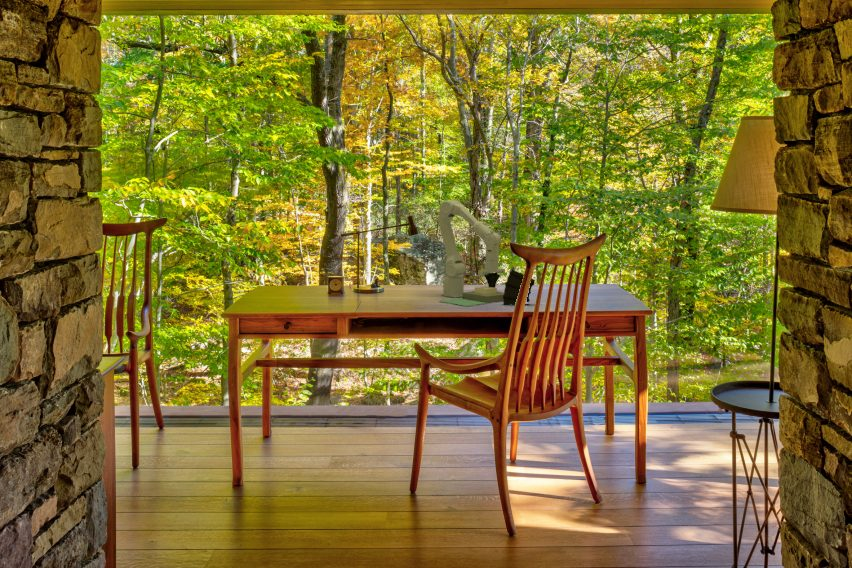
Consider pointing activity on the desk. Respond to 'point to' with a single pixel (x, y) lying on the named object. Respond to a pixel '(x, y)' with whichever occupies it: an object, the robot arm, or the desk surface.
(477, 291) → the tile
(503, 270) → the robot arm
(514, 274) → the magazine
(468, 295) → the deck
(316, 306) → the desk surface
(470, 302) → the mat
